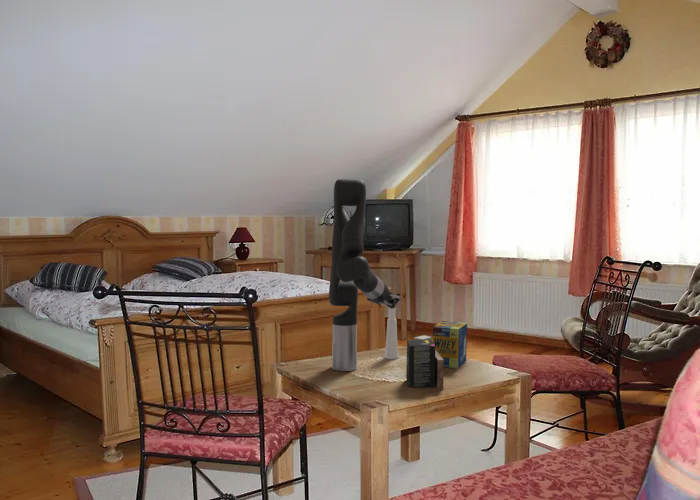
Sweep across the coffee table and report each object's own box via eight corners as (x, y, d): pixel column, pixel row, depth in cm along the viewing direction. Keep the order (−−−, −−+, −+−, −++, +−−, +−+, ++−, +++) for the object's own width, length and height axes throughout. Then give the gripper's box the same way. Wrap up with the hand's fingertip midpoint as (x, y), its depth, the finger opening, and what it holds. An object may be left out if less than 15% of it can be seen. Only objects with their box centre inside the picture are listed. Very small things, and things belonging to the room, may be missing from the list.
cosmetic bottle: (398, 359, 273) (399, 305, 271) (383, 359, 274) (384, 305, 272) (399, 356, 279) (400, 303, 277) (384, 355, 280) (385, 303, 278)
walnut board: (437, 388, 230) (437, 359, 229) (428, 375, 248) (429, 348, 247) (443, 388, 230) (443, 359, 229) (434, 375, 248) (434, 348, 247)
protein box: (431, 366, 262) (432, 326, 261) (441, 358, 276) (442, 320, 275) (458, 369, 258) (459, 328, 257) (466, 360, 273) (467, 322, 272)
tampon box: (435, 388, 231) (436, 345, 230) (408, 388, 231) (409, 345, 230) (431, 379, 242) (432, 339, 241) (406, 379, 242) (406, 339, 241)
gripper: (393, 278, 228) (411, 296, 242) (358, 278, 235) (378, 296, 248) (389, 298, 226) (408, 316, 239) (354, 298, 232) (374, 315, 246)
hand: (392, 306), depth 244 cm, fingers closed
